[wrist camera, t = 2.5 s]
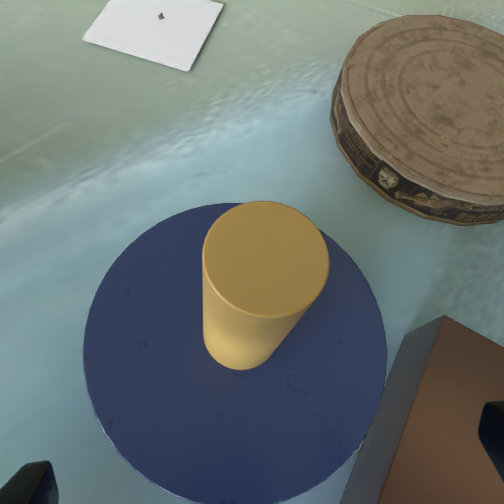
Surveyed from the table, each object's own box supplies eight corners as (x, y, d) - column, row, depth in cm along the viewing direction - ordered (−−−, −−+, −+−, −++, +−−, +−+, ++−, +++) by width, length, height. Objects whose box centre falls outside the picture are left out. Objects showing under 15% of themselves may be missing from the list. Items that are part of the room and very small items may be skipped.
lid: (301, 577, 13) (425, 755, 6) (23, 393, 14) (-163, 346, 7) (413, 293, 18) (561, 192, 10) (195, 175, 19) (190, 11, 12)
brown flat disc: (393, 22, 33) (409, -15, 31) (572, 122, 31) (608, 91, 28) (285, 134, 27) (294, 101, 24) (500, 273, 24) (537, 253, 22)
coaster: (127, -24, 32) (126, -35, 31) (223, 4, 32) (224, -6, 31) (80, 39, 29) (77, 29, 28) (188, 72, 28) (187, 62, 28)
